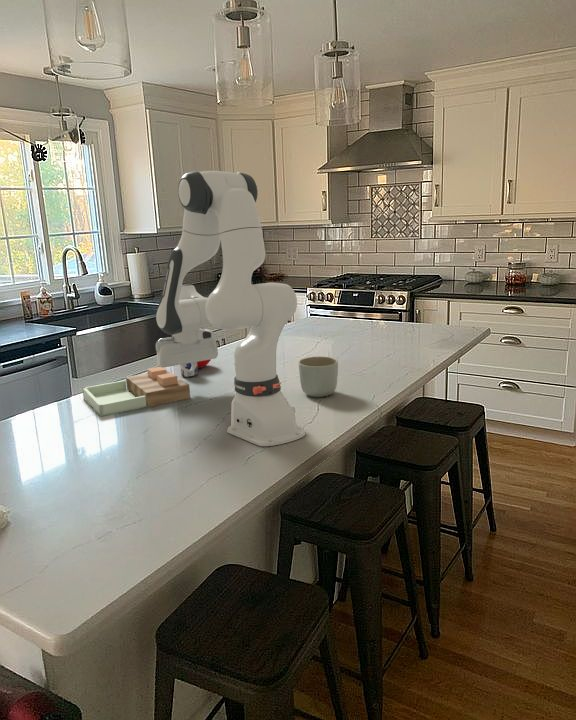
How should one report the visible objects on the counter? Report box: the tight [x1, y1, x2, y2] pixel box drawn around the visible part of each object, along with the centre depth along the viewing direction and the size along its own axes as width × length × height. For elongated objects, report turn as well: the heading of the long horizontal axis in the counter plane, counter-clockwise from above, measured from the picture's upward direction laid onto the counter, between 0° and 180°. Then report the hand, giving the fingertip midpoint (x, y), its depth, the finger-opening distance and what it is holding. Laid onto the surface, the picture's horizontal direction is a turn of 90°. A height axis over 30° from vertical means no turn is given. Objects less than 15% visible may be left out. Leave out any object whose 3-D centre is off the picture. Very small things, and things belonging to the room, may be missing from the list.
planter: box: [298, 356, 339, 398], centre depth 187 cm, size 12×12×11 cm
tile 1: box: [157, 372, 178, 386], centre depth 191 cm, size 5×5×2 cm
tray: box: [81, 379, 147, 417], centre depth 188 cm, size 22×14×4 cm, turn 31°
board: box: [125, 370, 191, 408], centre depth 195 cm, size 22×14×4 cm, turn 31°
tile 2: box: [146, 366, 168, 379], centre depth 199 cm, size 5×5×2 cm
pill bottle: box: [180, 363, 199, 378], centre depth 214 cm, size 6×6×11 cm
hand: (189, 375), depth 195 cm, fingers closed
